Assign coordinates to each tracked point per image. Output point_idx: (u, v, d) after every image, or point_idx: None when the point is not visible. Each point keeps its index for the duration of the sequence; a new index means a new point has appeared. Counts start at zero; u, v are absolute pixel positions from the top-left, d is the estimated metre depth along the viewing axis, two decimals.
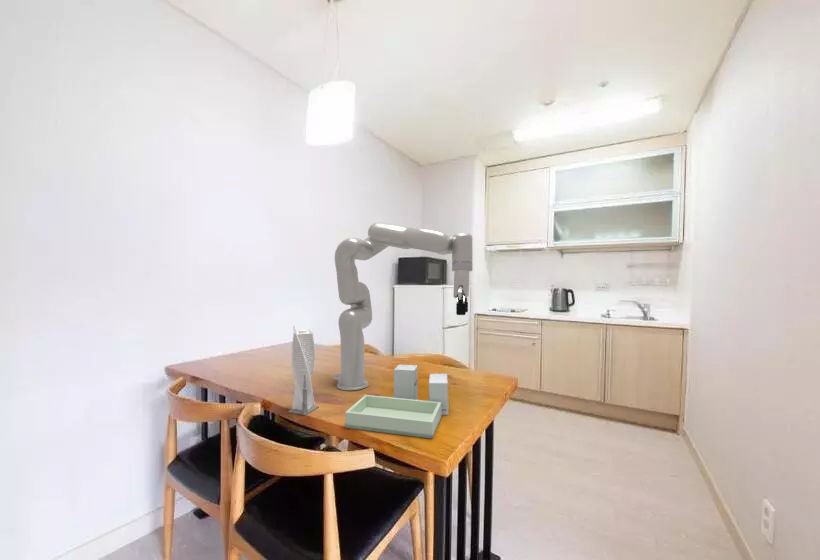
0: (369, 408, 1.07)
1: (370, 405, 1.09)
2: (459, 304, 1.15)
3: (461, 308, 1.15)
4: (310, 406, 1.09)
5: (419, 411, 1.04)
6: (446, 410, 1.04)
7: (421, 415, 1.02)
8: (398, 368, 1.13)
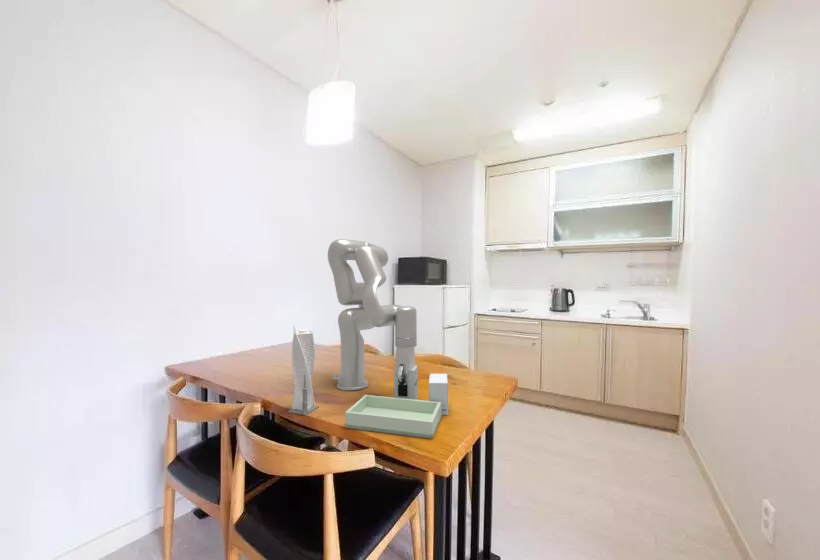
0: (369, 408, 1.07)
1: (370, 405, 1.09)
2: (400, 385, 1.10)
3: (402, 389, 1.10)
4: (310, 406, 1.09)
5: (419, 411, 1.04)
6: (446, 410, 1.04)
7: (421, 415, 1.02)
8: None
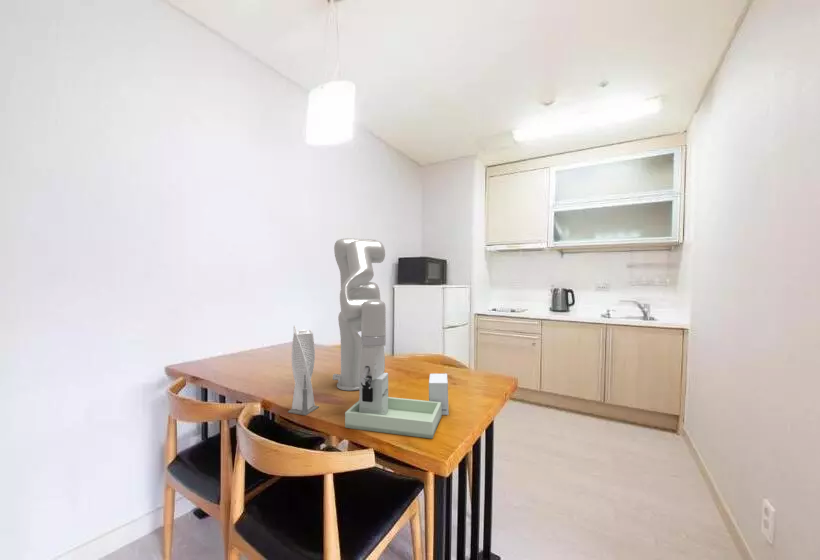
0: None
1: None
2: (364, 389, 0.96)
3: (367, 394, 0.96)
4: (310, 406, 1.09)
5: (419, 411, 1.04)
6: (446, 410, 1.04)
7: (421, 415, 1.02)
8: None
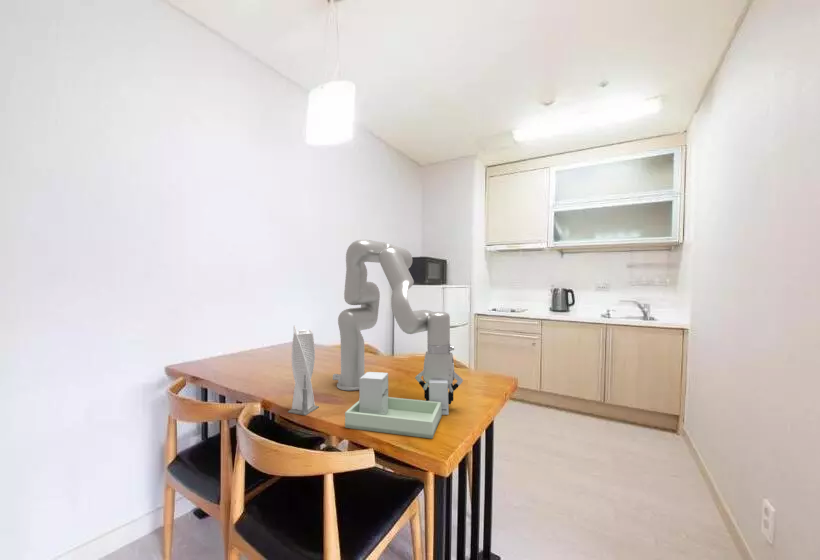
0: None
1: None
2: None
3: None
4: (310, 406, 1.09)
5: (419, 411, 1.04)
6: (446, 410, 1.04)
7: (421, 415, 1.02)
8: (365, 376, 1.00)
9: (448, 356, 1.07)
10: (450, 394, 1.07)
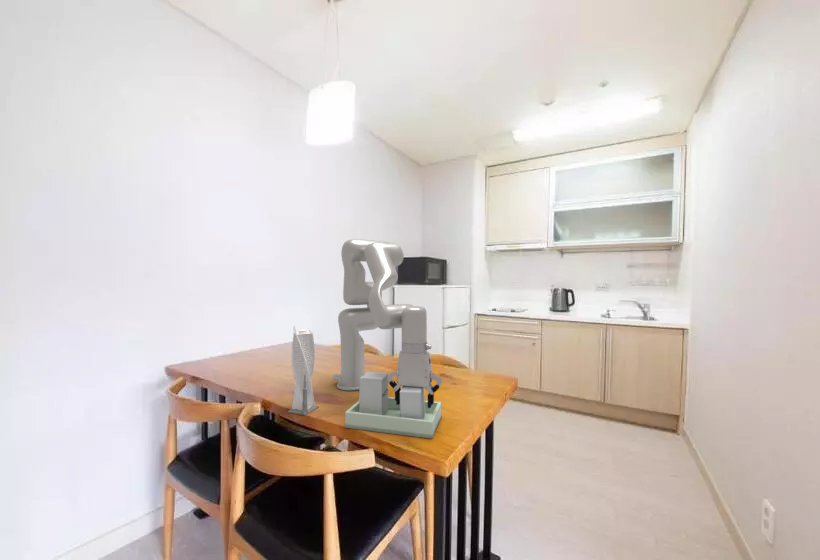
0: None
1: None
2: None
3: None
4: (310, 406, 1.09)
5: None
6: None
7: None
8: (365, 376, 1.00)
9: (424, 356, 0.95)
10: (430, 396, 0.95)
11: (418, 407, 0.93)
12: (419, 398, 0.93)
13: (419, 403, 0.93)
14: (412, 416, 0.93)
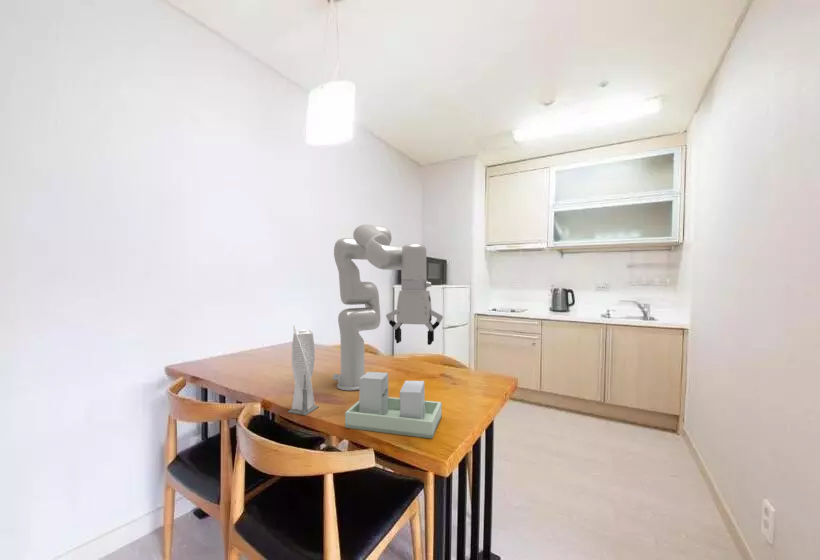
0: None
1: None
2: None
3: None
4: (310, 406, 1.09)
5: None
6: None
7: None
8: (365, 376, 1.00)
9: (424, 292, 0.95)
10: (430, 333, 0.95)
11: (418, 407, 0.93)
12: (419, 398, 0.93)
13: (419, 403, 0.93)
14: (412, 416, 0.93)
